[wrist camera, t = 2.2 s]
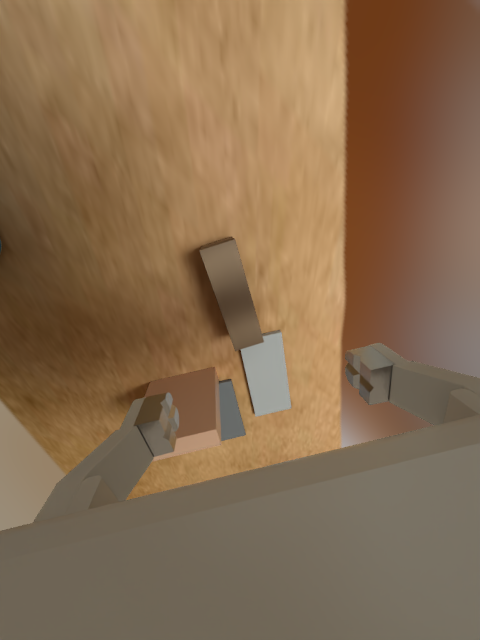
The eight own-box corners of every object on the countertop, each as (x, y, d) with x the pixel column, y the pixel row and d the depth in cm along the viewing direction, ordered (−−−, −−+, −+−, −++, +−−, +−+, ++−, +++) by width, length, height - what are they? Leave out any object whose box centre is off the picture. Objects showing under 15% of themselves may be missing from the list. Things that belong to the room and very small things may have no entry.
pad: (238, 339, 26) (238, 341, 25) (279, 329, 26) (281, 332, 25) (254, 413, 31) (255, 416, 30) (289, 404, 31) (291, 408, 30)
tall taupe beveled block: (201, 246, 21) (199, 250, 18) (231, 236, 21) (234, 239, 18) (232, 332, 25) (235, 351, 22) (256, 325, 25) (264, 342, 22)
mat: (144, 398, 28) (144, 401, 27) (230, 378, 28) (231, 380, 27) (170, 450, 32) (170, 453, 31) (245, 432, 32) (245, 435, 32)
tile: (150, 381, 27) (122, 451, 18) (214, 366, 27) (216, 429, 19) (156, 394, 28) (132, 467, 19) (219, 380, 28) (221, 445, 20)
